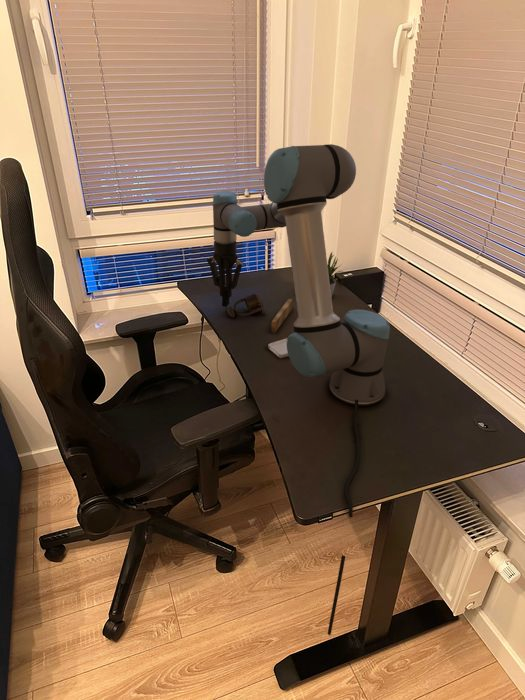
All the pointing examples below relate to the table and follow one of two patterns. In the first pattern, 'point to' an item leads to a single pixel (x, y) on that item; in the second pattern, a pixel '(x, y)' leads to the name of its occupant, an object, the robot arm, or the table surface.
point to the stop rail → (281, 316)
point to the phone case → (279, 348)
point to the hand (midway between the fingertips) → (225, 304)
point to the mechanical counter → (248, 305)
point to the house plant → (331, 271)
